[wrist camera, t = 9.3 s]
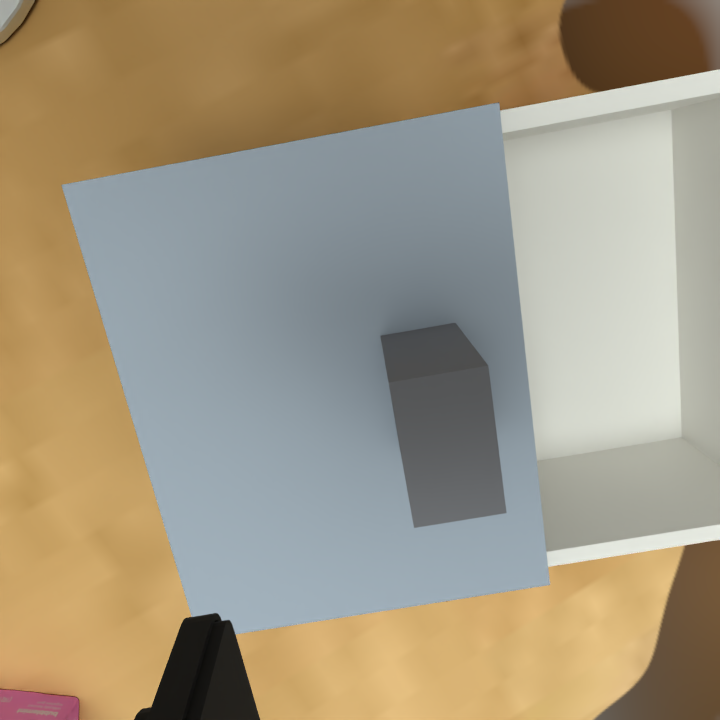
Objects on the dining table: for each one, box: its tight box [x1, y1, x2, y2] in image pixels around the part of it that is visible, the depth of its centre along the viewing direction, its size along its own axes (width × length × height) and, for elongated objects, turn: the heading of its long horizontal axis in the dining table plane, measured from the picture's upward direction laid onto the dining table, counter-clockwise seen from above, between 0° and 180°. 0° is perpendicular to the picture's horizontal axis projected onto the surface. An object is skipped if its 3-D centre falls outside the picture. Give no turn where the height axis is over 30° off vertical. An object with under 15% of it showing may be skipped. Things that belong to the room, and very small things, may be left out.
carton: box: [500, 70, 720, 567], centre depth 30 cm, size 20×16×10 cm
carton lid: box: [62, 103, 550, 634], centre depth 22 cm, size 20×16×7 cm
